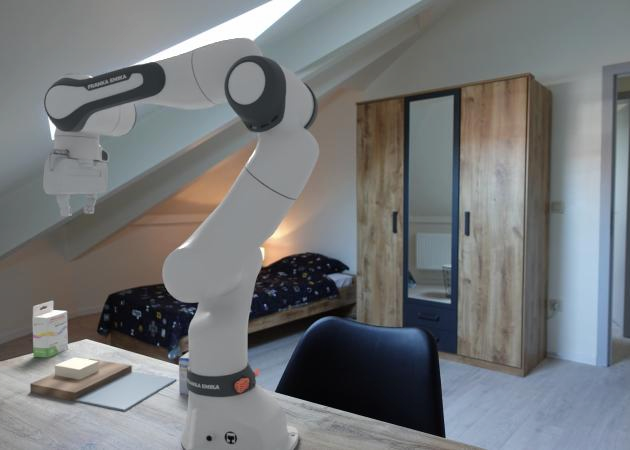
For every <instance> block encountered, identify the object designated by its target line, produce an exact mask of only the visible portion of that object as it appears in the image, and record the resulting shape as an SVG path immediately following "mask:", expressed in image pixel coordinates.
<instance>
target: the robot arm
mask: <svg viewBox="0 0 630 450" xmlns="http://www.w3.org/2000/svg"><path fill="white" fill-rule="evenodd" d="M43 100H44V101H43V105H44V111H45V113H46V115H47V117H48V118H49V120H50V121H51V123H52V124H53V125H54V127H55V131H54V134H53V135H54V136H53V137H54V138H53V139H54V143H53V145H54V148H52V150H51V151H50V153H48V155H47V158H46V160H45V162H44V169H43V182H42V183H43V184H42V187H43V188H42V189H43V191H44V192H45V194H46V195H55V197H56V198H55V199H56V202H57V204H58V207H59V208H60V209H59V213H60V216H61V217H71V216H72V215H73V207H71V205H70V202H69V201H70V200H71V199H70V198H71V195H83V194H84V195H85V196H84V197H85V199H86V201H85V205H83V214H85V215H88V214H91V215H92V214H94V213H95V206H96V202H97V200H98V194H105V193H106V191H107V189H108V180H109V179H108V177H109V174H108V173H109V172H108V171H109V170H108V164H107V163H108V162H109V161H110V154H109V152H108V151H106V150H105V149H104V147H102V145H101V144H100V136H107V137H115V138H116V137H123V136H127V135H128V134H129V133H130V132H131V131H132V130H133V129H134V127H135V126H136V123H137V117H138V116H137V113H138V112H137V108H136V105H135V104H149V105H150V104H152V105H158V106H163V107H170V108H173V109H174V108H175V109H179V110H185V111H195V110H196V111H197V110H203V109H204V110H205V109H209V108H213V107H216V106H219V105H222V104H225V103H228V105H229V106H230V107H231V109H232V110H233V112H234V113H235V114H236V116H238V117H239V118H240V119H241V121H242V123H243V124H244V126H245V127H246V128H247V130H248V131H250V132H251V133H257V137H258V138H257V144H256V146H255V149H254V151H253V152H252V154H251V156H250V157H249V159H248V160H247V161H246V163H245V165H244V166H243V168H242V170H241V171H240V173H239V175H238V176H237V178H236V179H235V181H234V182H233V184H232V186H231V187H230V189H229V190H228V192H227V193H226V195H225V196H224V197H223V199H222V200H221V202H220V203H219V204H218V205H217V206H216V208H215V209H214V210H213V211H212V212H211V213H210V214H209V215H208V216H207V217H206V218H205V220H204V221H203V222H202V223H201V224H200V225H199V226H198V227H197V228H196V230H195V231H194V232H193V233H192V234H191V235H190V236H189V237H188V238H187V239H186V240H185V241H184V242H183V243H182V244H180V246H178V247H177V248H176V249H174V250H173V251H171V252H170V253H169V254H168V256H166V258H165V259H164V262H163V265H162V271H161V272H162V273H161V276H162V277H161V278H162V281H163V284H164V287H165V288H166V290H167V292H168V293H169V294H170V296H172V297H173V298H174V299H176V301H180V302H181V303H187V304H188V303H189V304H190V303H191V304H192V303H198V304H197V309H196V311H195V314H194V316H193V318H192V319H191V321H190V323H189V325H188V331H187V332H188V333H187V334H188V336H187V337H188V338H187V339H188V352H189V366H188V367H187V388H188V392H189V394H188V396H187V397H188V399H187V409H186V418H185V423H184V429H183V431H182V432H183V433H182V435H181V438H180V440H181V441H180V443H181V445H182V447H183V449H184V450H294V449H296V447H297V445H298V443H299V430H298V428H296V427H294V426H291V425H288V422H287V415H286V411H285V408H284V407H283V405H282V404H281V403H280V402H279V401H278V400H276V399H275V398H274V397H273V396H271V395H270V394H269V393H268V392H267V391H266V390H264V389H263V387H261V386H260V385H259V384H258V383H257V379H256V378H257V377H258V376H259V375H260V374H261V373H260V370H261V369H260V368H257V369H256V370H254V371H253V369H252V367H251V365H250V363H249V361H248V331H249V330H248V329H249V327H248V326H249V318H250V317H249V316H250V313H251V306H252V301H253V297H254V292H255V286H256V282H257V278H258V275H259V273H260V271H261V269H262V266H263V262H264V261H263V259H264V258H263V252H262V250H261V246H262V245H263V244H264V243H265V242H266V241H268V240H269V239H270V238H271V237H272V236H273V235H274V234H275V233H276V231H277V229H278V228H279V226H280V225H281V224H282V222H283V221H284V219H285V218H286V217H287V215H288V213H289V211H290V210H291V209H292V206H293V205H294V204H295V202H296V201H297V199H298V198H299V196H300V194H301V193H302V192H303V190H304V188H305V186H306V184H307V183H308V181H309V179H310V177H311V175H312V173H313V171H314V169H315V167H316V164H317V161H318V159H319V155H320V148H319V147H320V146H319V143H318V142H317V139H316V138H315V137H314V135H313V134H312V133H311V132H310V131H309V129H310V128H311V127H312V126H313V125H314V123H315V121H316V119H317V117H318V114H319V113H318V112H319V104H318V99H317V97H316V95H315V93H314V91H313V90H312V89H311V87H310V86H309V85H308V84H307V83H305V82H304V81H302V80H301V79H300V78H299V77H298V76H297V75H296V73H294V72H293V71H292V70H290V69H289V68H287V67H285V66H283V65H282V64H279V63H278V62H276V61H275V60H274V59H271V58H269V57H266V56H264V54H263V53H262V50H261V49H260V47H259V46H258V45H257V44H256V43H255V41H254V40H252V39H250V38H248V37H246V36H232V37H228V38H223V39H218V40H214V41H211V42H208V43H207V42H206V43H204V44H201V45H199V46H196V47H193V48H190V49H188V50H184V51H182V52H179V53H177V54H174V55H169V56H168V57H164V58H160V59H156V60H151V61H148V62H144V63H140V64H134V65H130V66H126V67H123V68H122V67H121V68H119V69H116V70H113V71H109V72H105V73H102V74H98V75H96V76H92V75H88V74H85V73H67V74H64V75H62V76H60V77H59V78H58V79H57V80H56V81H54V82H53V84H52V85H51V86H50V87H49V88H48V90H46V93H45V96H44V99H43Z"/></svg>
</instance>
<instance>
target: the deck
mask: <svg viewBox="0 0 630 450" xmlns="http://www.w3.org/2000/svg"><path fill="white" fill-rule="evenodd" d="M88 360H94V361H99V371H98V372H95V373H93V374H91V375H89V376H87V377H85V378H82V379H80V380H79V379H74V378H68V377H63V376H57V375H55V373H53V374H50V375H47V376H45V377H43V378H40V379H38V380H35V381H33V382H31V383H29V384H30V385H29V387H30V393H35V394H40V395H44V396H49V397H53V398H59V399H63V400H68V401H73V402H76V401H75V399H77V398H79V397H81V396H83V395H85V394H87V393H89V392H91V391H93V390H95V389H97V388H99V387H101V386H103V385H105V384H107V383H109V382H111V381H113V380H115V379H117V378H119V377H121V376H123V375H125V374H127V373H129V372H131V371H133V368H132V367H133V365H131V364H125V363H119V362H114V361H113V362H112V361H106V360H102V359H100V360H99V359H94V358H89V359H88Z"/></svg>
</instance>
